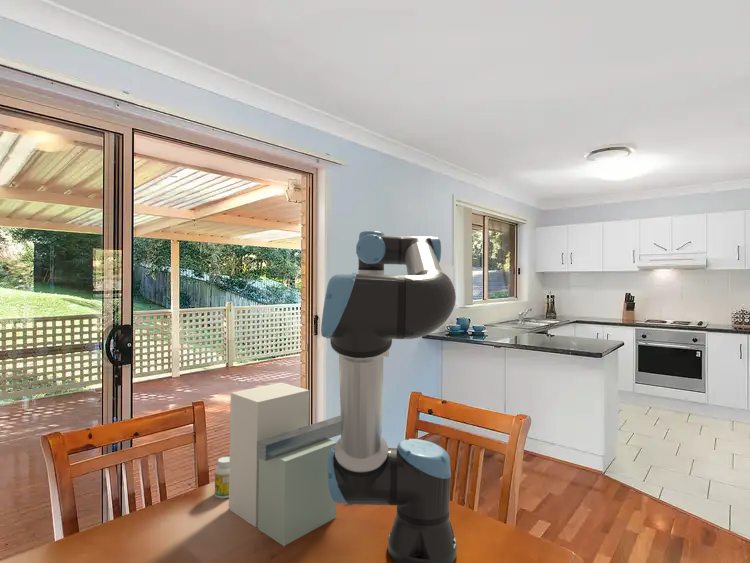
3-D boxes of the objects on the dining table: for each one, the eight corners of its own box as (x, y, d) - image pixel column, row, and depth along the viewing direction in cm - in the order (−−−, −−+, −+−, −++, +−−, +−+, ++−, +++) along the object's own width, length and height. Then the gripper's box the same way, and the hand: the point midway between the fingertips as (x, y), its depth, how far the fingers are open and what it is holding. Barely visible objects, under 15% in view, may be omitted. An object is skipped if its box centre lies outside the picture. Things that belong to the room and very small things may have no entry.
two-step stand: (279, 487, 126) (281, 382, 125) (335, 517, 111) (338, 398, 110) (228, 508, 114) (230, 392, 113) (283, 546, 99) (286, 412, 98)
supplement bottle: (237, 496, 120) (237, 461, 120) (216, 501, 118) (217, 465, 118) (232, 487, 125) (233, 454, 125) (212, 492, 122) (213, 457, 122)
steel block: (349, 425, 123) (349, 412, 123) (358, 428, 121) (358, 415, 121) (256, 456, 101) (256, 441, 101) (265, 461, 98) (265, 445, 98)
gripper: (388, 285, 139) (386, 352, 140) (330, 285, 120) (328, 362, 121) (407, 285, 134) (405, 355, 135) (349, 285, 116) (348, 366, 116)
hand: (369, 359), depth 128 cm, fingers open, 13 cm apart
